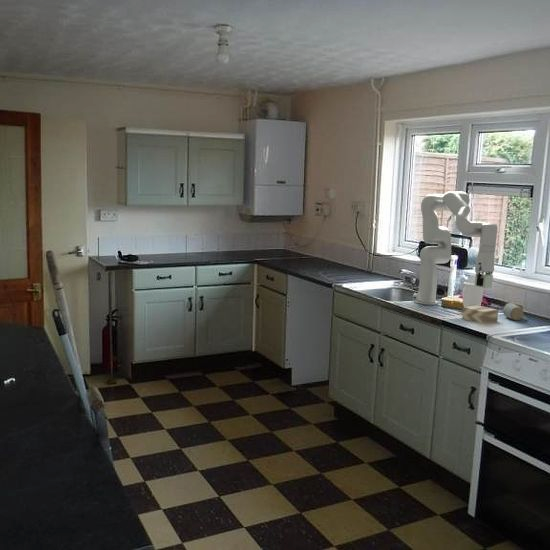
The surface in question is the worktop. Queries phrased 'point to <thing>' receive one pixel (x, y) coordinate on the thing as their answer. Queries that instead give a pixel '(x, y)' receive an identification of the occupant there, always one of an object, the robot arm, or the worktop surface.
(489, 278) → the sage tub
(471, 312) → the birch block
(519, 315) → the ceramic mug
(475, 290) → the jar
